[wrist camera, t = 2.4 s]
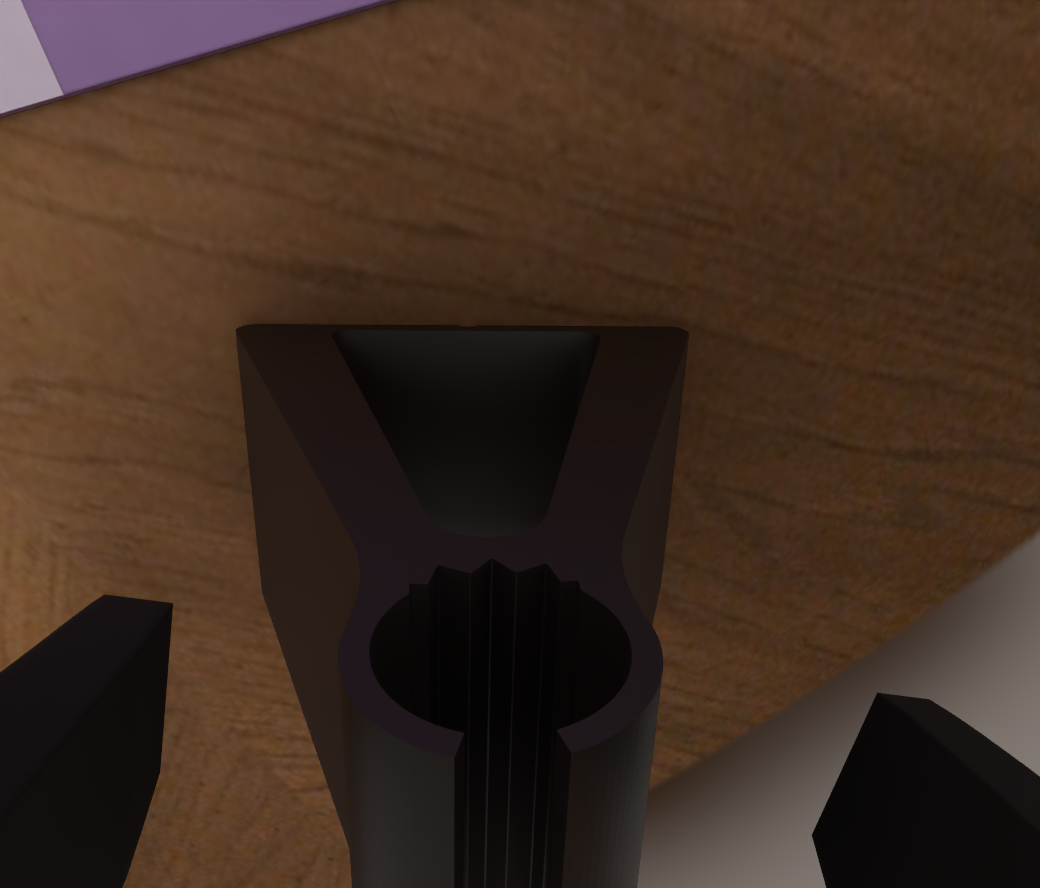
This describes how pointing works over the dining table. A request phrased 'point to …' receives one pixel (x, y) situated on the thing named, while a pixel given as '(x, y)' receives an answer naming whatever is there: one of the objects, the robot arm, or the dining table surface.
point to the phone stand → (470, 585)
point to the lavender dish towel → (133, 39)
